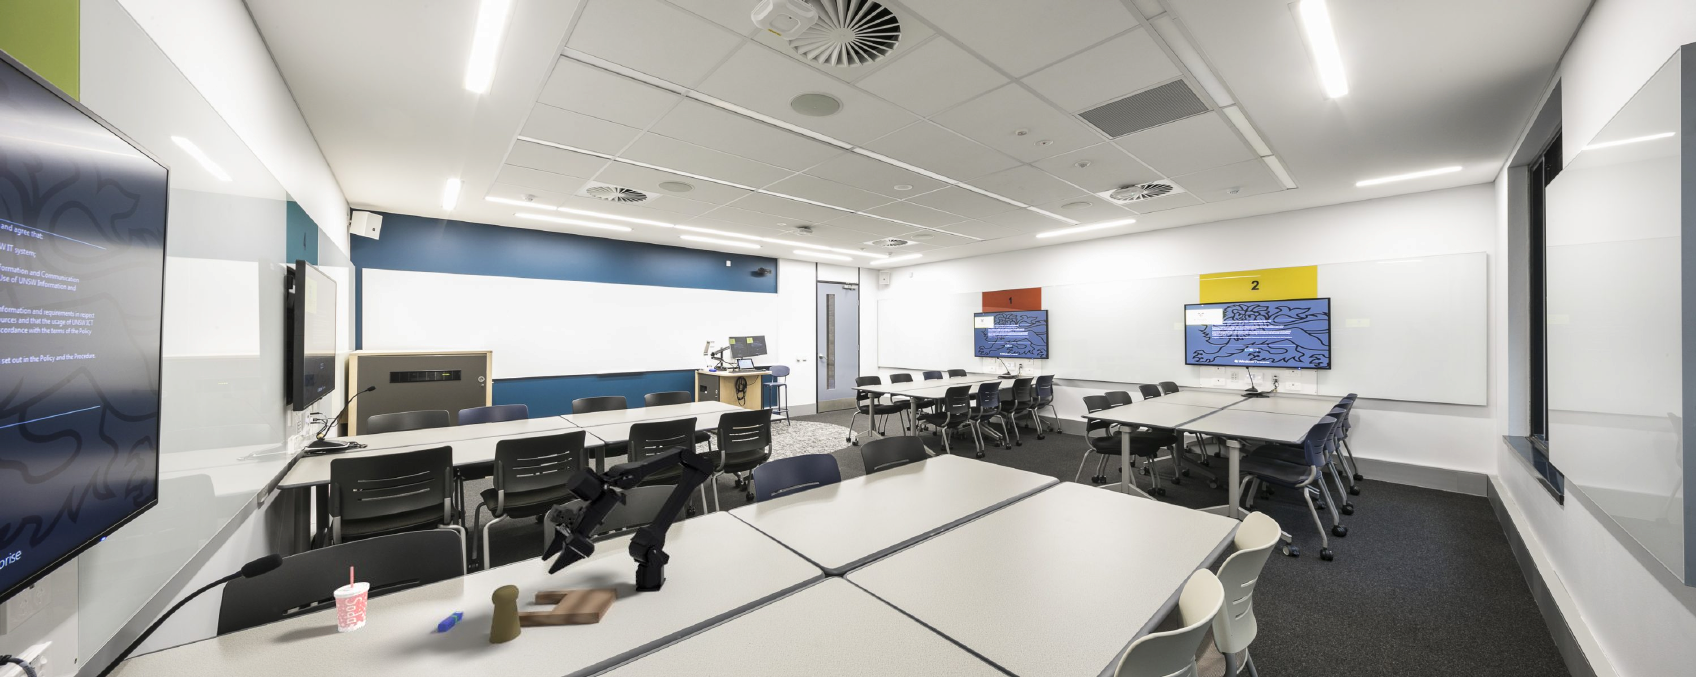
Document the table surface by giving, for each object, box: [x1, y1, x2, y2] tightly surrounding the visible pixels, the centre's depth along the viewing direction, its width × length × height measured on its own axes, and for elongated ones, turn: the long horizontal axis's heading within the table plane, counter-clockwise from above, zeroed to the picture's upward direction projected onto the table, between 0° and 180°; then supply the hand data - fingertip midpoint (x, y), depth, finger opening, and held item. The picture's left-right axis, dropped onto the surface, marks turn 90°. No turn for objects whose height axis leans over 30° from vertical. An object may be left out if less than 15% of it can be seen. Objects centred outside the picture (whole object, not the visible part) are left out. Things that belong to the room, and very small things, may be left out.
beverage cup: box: [333, 566, 370, 633], centre depth 123 cm, size 6×6×14 cm
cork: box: [489, 584, 522, 645], centre depth 119 cm, size 6×6×11 cm
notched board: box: [518, 588, 618, 627], centre depth 130 cm, size 20×12×2 cm, turn 95°
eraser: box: [437, 610, 465, 633], centre depth 124 cm, size 2×6×2 cm, turn 1°
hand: (545, 566), depth 124 cm, fingers open, 9 cm apart
